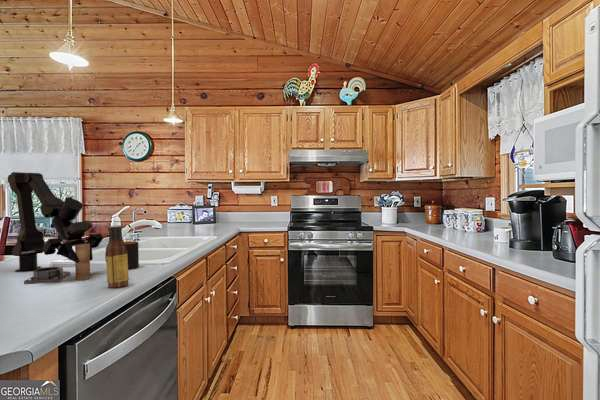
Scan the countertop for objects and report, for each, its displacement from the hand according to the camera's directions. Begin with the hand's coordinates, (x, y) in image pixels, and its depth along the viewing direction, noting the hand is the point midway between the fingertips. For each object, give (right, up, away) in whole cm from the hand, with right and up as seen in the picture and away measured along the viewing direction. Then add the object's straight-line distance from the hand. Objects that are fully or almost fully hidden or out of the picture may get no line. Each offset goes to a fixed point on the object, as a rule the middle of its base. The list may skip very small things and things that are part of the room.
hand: (85, 261), depth 123 cm
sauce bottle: (+16, -7, -9) cm, 20 cm away
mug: (+4, -6, +18) cm, 20 cm away
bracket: (-14, -7, +1) cm, 15 cm away
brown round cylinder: (-1, -7, +1) cm, 7 cm away
